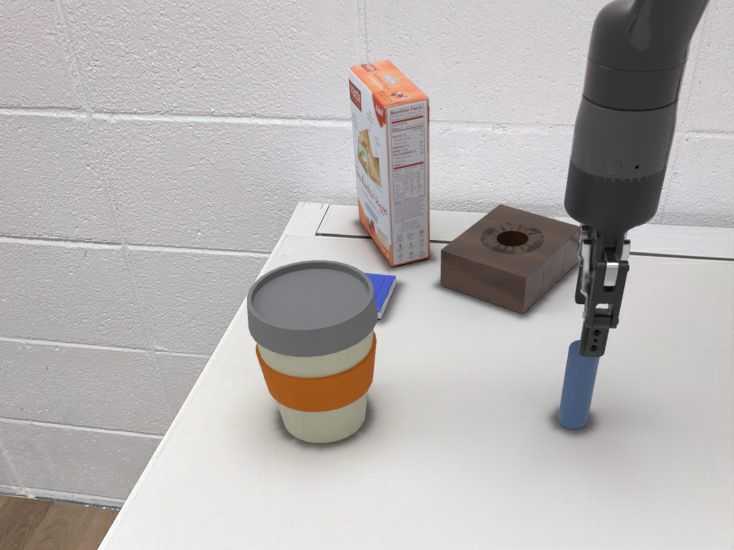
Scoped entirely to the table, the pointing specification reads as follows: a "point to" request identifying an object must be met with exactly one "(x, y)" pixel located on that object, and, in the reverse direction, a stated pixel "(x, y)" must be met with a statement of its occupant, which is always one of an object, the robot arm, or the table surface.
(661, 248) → the table surface
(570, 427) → the peg
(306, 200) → the table surface
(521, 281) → the walnut block
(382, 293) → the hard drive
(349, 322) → the reusable coffee cup
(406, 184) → the cracker box
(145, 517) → the table surface
